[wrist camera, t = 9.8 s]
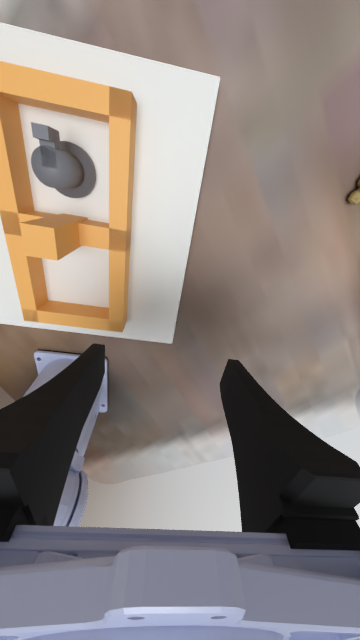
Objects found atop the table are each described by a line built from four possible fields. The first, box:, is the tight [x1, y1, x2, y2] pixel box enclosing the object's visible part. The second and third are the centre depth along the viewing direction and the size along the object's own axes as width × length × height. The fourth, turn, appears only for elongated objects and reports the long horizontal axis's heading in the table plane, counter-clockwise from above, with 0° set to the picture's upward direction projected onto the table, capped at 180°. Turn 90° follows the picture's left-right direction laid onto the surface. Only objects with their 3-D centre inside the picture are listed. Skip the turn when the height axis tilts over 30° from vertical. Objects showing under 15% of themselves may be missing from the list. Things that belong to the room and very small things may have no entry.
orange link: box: [0, 61, 137, 332], centre depth 15 cm, size 16×8×6 cm, turn 171°
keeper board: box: [0, 22, 220, 344], centre depth 16 cm, size 20×18×5 cm
